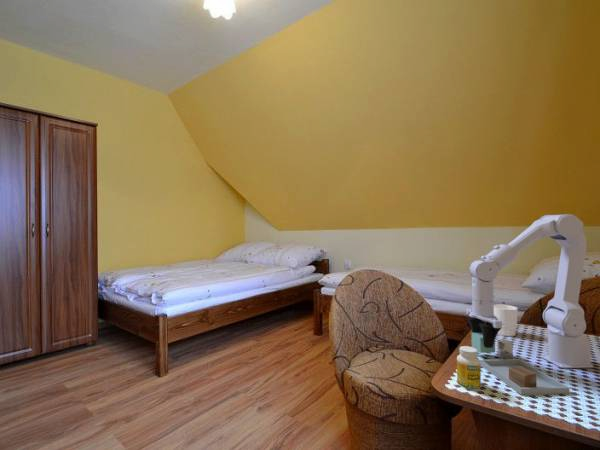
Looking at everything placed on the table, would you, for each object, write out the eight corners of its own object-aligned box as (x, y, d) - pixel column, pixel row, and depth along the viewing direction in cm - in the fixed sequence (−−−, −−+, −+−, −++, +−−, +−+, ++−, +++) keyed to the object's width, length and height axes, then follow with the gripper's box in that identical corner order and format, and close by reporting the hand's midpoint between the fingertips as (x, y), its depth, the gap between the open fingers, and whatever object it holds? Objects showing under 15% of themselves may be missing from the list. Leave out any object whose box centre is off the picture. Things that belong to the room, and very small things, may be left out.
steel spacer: (506, 355, 98) (506, 339, 98) (516, 360, 94) (516, 344, 94) (494, 355, 98) (494, 339, 98) (503, 360, 94) (503, 344, 94)
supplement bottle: (469, 380, 83) (469, 344, 83) (486, 390, 77) (485, 352, 77) (452, 382, 81) (451, 345, 81) (467, 393, 76) (467, 354, 76)
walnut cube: (520, 381, 80) (520, 366, 80) (536, 389, 77) (536, 373, 77) (508, 384, 79) (508, 368, 79) (524, 392, 75) (524, 375, 75)
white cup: (521, 337, 113) (521, 310, 113) (497, 336, 115) (497, 309, 115) (511, 330, 121) (511, 304, 121) (489, 329, 122) (489, 303, 122)
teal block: (485, 346, 98) (485, 332, 98) (495, 352, 94) (494, 337, 94) (471, 347, 98) (471, 332, 98) (480, 352, 94) (480, 337, 94)
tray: (519, 365, 91) (519, 358, 91) (569, 396, 75) (569, 387, 75) (479, 366, 90) (479, 359, 90) (520, 397, 74) (520, 388, 74)
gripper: (457, 294, 103) (457, 335, 103) (485, 306, 89) (485, 354, 89) (478, 294, 103) (478, 335, 103) (509, 305, 89) (509, 353, 89)
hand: (483, 344), depth 96 cm, fingers closed on teal block, 4 cm apart
